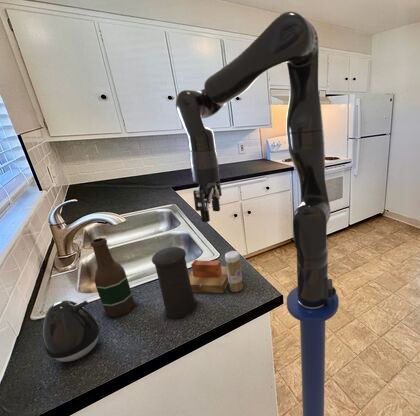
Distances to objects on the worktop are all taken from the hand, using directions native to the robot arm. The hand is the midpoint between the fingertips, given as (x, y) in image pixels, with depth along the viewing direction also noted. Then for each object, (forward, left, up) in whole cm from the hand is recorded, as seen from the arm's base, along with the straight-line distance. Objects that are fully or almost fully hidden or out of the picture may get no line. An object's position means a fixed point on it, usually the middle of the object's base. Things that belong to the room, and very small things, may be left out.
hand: (211, 215), depth 84 cm
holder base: (+5, -1, -26) cm, 26 cm away
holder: (+5, -1, -23) cm, 23 cm away
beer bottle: (+27, +13, -26) cm, 40 cm away
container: (+8, +12, -26) cm, 30 cm away
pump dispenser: (+27, +28, -26) cm, 47 cm away
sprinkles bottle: (-6, +2, -26) cm, 27 cm away
